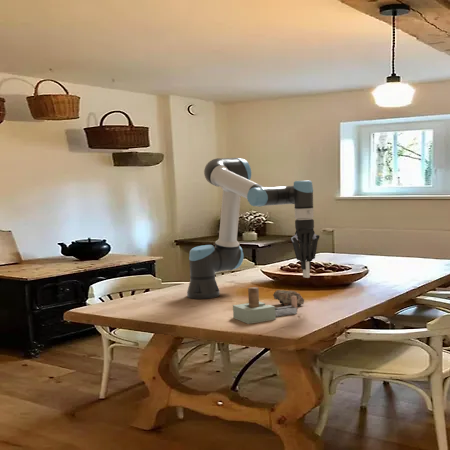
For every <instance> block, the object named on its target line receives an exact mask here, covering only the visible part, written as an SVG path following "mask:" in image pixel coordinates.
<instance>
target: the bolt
mask: <svg viewBox="0 0 450 450" xmlns="http://www.w3.org/2000/svg"><path fill="white" fill-rule="evenodd" d="M291 299H292V306H285V307H284V306H279V307H278V306H277V307H275V310H281V309H287V308H294V307H296V308H297V309H298V305H297V297H296V296H291Z"/></svg>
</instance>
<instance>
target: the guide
mask: <svg viewBox="0 0 450 450" xmlns="http://www.w3.org/2000/svg"><path fill="white" fill-rule="evenodd" d="M283 307H285V306H284V305H283ZM297 313H298V307H297V308H296V307H294V308H287V309H281V310H275V318H277V317H284V316H290V315H297Z"/></svg>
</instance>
